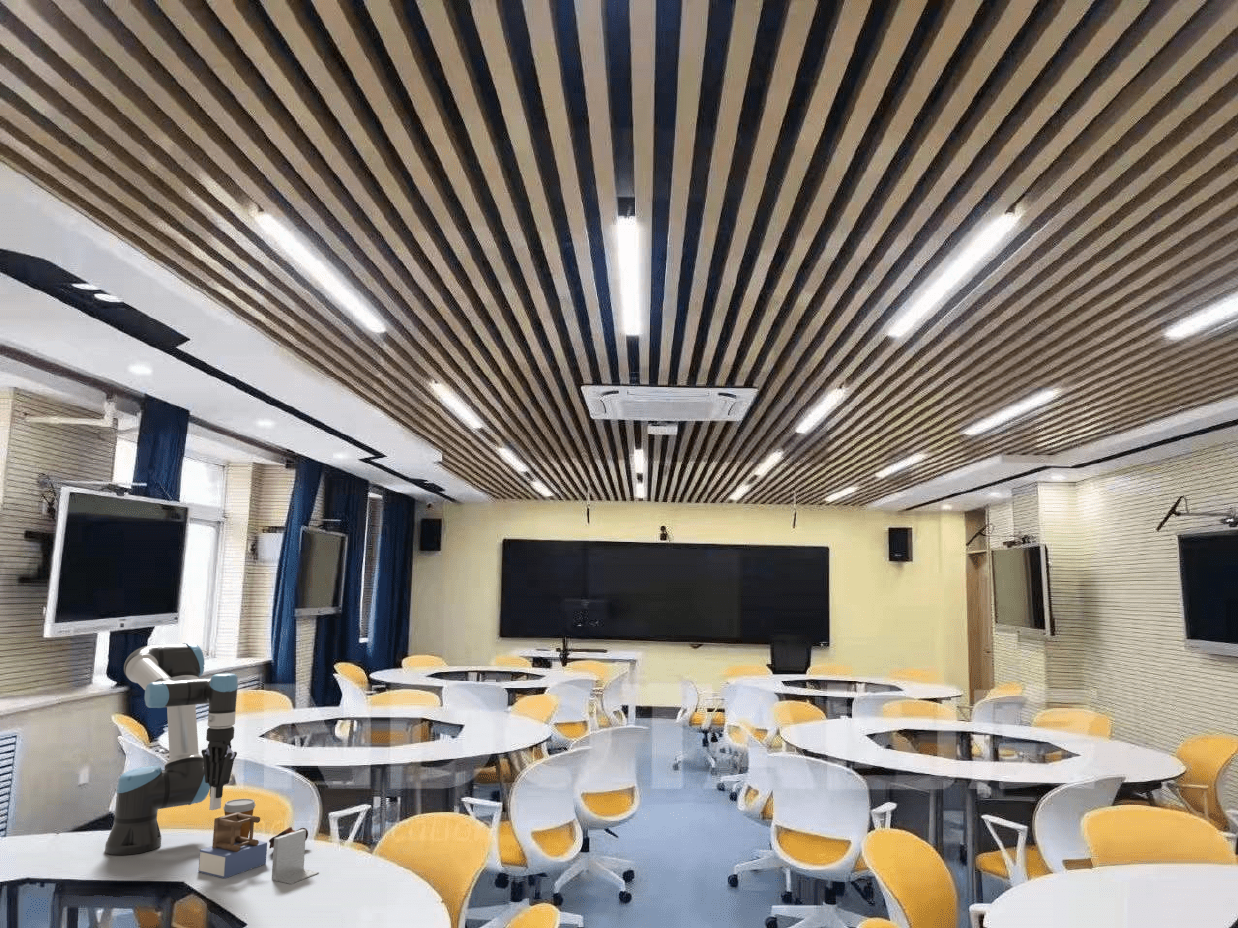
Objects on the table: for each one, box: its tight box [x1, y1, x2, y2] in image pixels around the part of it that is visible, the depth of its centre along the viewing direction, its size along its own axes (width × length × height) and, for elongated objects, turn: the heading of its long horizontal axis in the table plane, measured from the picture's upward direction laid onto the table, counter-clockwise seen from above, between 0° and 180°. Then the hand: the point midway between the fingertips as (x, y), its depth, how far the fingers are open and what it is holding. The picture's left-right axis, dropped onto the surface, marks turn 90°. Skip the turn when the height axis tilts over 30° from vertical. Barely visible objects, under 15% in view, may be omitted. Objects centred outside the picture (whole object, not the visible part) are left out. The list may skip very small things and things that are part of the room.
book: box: [198, 840, 268, 879], centre depth 243 cm, size 11×14×6 cm
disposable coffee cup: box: [223, 798, 256, 838], centre depth 269 cm, size 10×10×12 cm
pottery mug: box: [268, 826, 309, 849], centre depth 259 cm, size 12×10×8 cm
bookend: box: [271, 829, 320, 885], centre depth 237 cm, size 8×10×11 cm
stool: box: [211, 812, 261, 852], centre depth 244 cm, size 10×8×8 cm
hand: (215, 808), depth 249 cm, fingers closed
